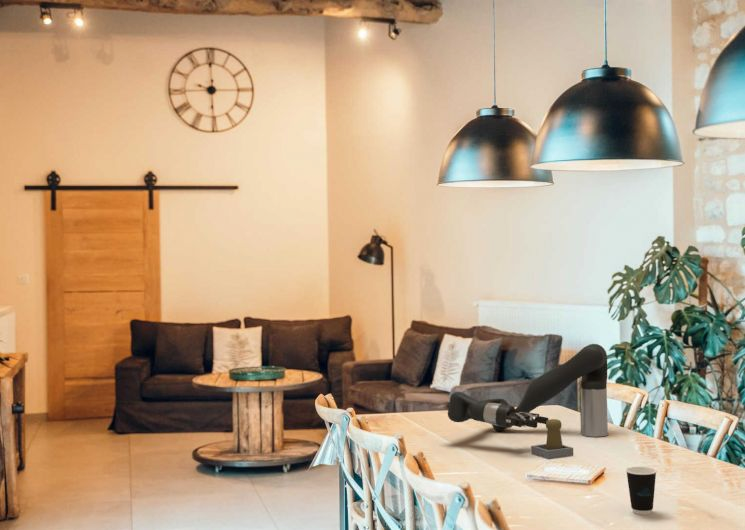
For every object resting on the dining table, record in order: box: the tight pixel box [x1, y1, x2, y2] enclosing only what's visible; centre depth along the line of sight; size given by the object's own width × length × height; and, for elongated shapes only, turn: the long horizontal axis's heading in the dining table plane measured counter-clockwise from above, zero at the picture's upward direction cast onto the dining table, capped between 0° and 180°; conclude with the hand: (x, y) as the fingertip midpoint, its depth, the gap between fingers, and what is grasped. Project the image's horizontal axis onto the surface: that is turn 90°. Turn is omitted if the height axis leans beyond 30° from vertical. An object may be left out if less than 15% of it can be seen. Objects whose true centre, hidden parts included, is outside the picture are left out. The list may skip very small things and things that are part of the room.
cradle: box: [530, 443, 574, 460], centre depth 320 cm, size 10×10×3 cm
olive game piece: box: [545, 418, 564, 450], centre depth 320 cm, size 6×6×11 cm
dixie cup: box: [625, 466, 658, 515], centre depth 249 cm, size 8×8×11 cm
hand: (542, 422), depth 321 cm, fingers open, 8 cm apart
